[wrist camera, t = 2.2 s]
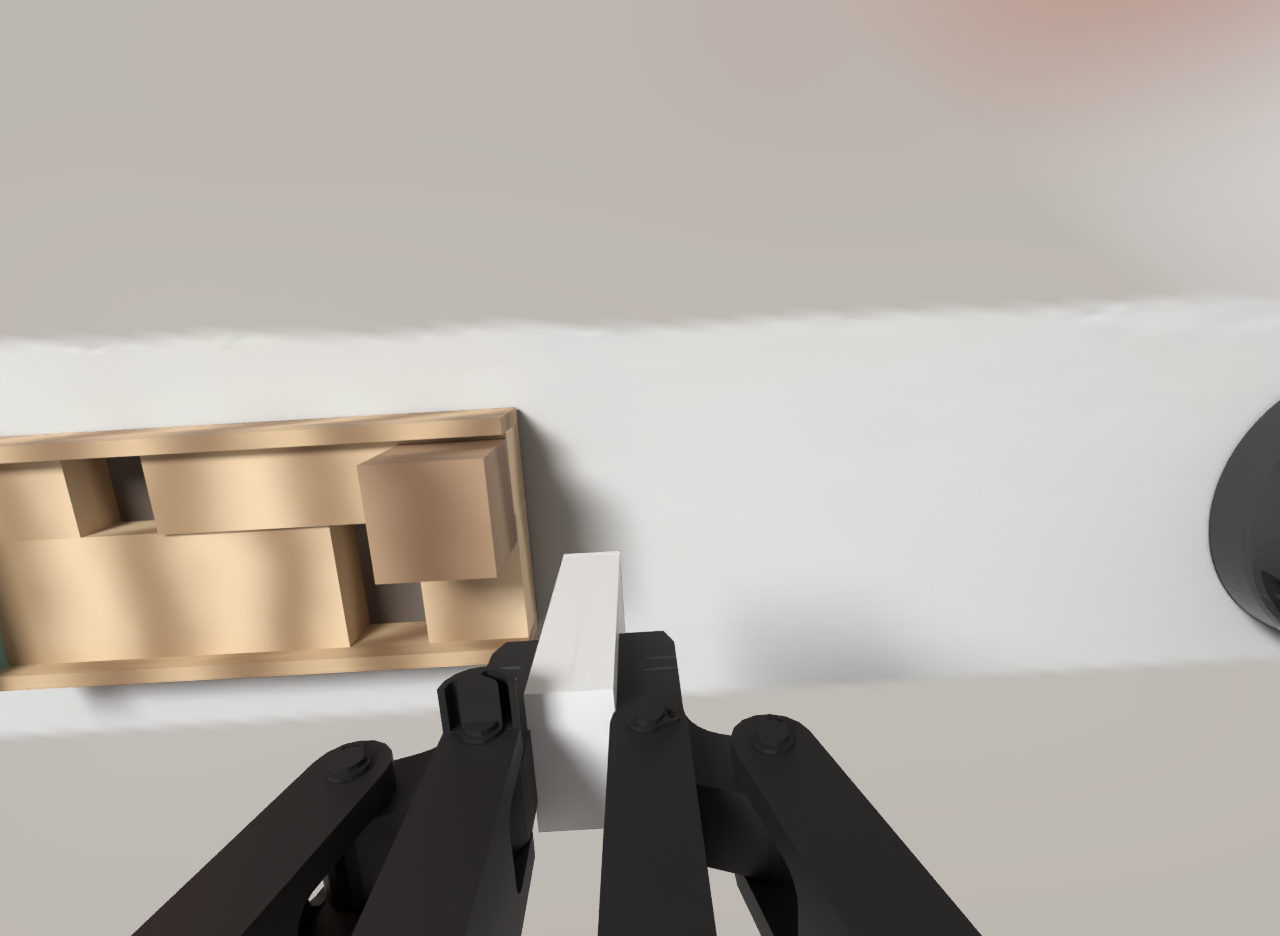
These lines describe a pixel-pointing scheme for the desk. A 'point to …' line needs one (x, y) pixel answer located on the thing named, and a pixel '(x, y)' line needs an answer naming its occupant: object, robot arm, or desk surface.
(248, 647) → the tray
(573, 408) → the desk surface
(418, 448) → the block
